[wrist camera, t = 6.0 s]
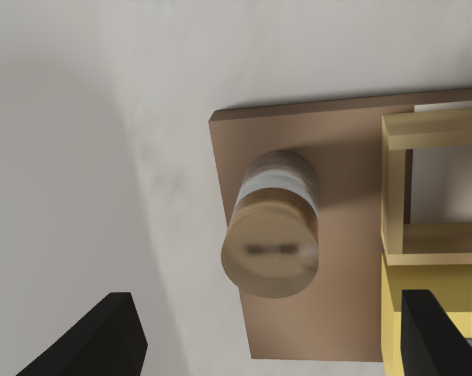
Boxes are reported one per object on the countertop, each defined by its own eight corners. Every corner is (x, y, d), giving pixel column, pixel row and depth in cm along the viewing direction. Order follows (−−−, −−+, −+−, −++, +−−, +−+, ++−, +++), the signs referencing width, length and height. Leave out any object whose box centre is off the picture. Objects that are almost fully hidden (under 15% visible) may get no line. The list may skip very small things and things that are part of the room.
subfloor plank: (642, 72, 15) (713, 102, 13) (567, 346, 21) (604, 407, 19) (214, 111, 18) (196, 142, 16) (254, 340, 24) (246, 392, 22)
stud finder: (514, 248, 18) (556, 314, 15) (497, 350, 20) (529, 424, 17) (381, 251, 19) (394, 314, 16) (381, 347, 21) (392, 418, 18)
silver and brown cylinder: (283, 135, 17) (272, 202, 13) (334, 189, 18) (339, 269, 14) (228, 179, 18) (201, 254, 14) (277, 227, 19) (265, 312, 15)
